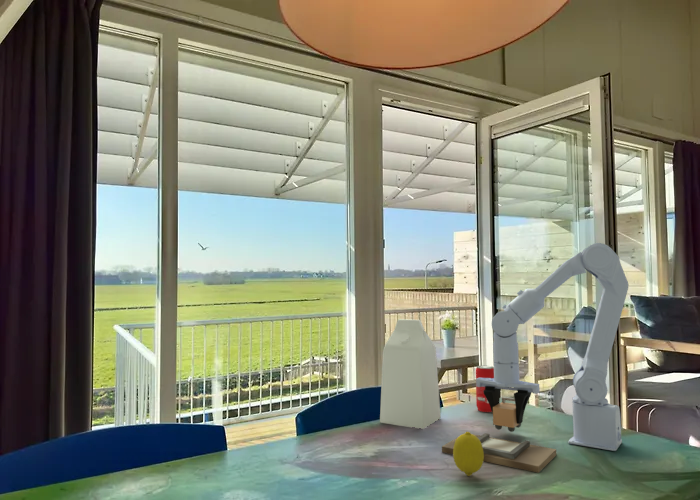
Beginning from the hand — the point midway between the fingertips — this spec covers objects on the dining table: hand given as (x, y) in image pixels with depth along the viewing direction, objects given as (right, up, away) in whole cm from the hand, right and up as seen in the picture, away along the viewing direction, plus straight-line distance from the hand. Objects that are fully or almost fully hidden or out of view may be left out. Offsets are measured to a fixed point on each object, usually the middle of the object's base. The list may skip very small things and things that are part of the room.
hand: (507, 421), depth 120 cm
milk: (-21, -4, +13) cm, 25 cm away
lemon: (-15, -2, -25) cm, 29 cm away
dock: (-6, -2, -13) cm, 15 cm away
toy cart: (0, -2, 0) cm, 2 cm away
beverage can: (+1, -5, +23) cm, 23 cm away
